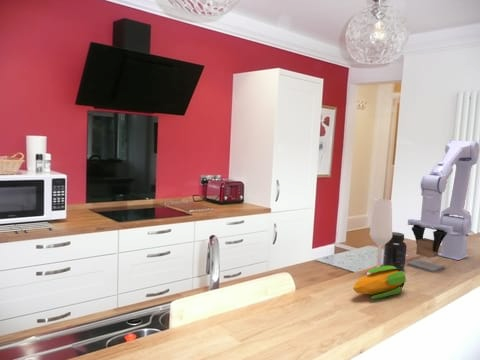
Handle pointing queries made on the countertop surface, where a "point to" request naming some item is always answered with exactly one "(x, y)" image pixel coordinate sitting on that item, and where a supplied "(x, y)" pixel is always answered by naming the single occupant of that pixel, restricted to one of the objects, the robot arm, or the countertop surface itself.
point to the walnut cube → (426, 248)
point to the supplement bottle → (395, 251)
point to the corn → (381, 282)
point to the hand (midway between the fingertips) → (427, 249)
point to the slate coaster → (426, 265)
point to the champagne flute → (381, 225)
